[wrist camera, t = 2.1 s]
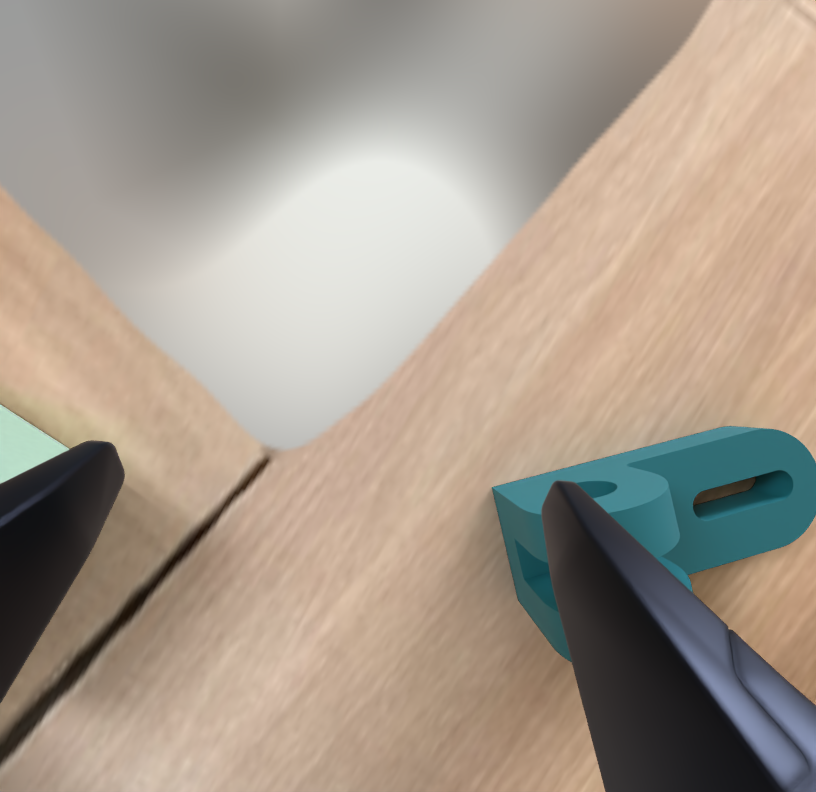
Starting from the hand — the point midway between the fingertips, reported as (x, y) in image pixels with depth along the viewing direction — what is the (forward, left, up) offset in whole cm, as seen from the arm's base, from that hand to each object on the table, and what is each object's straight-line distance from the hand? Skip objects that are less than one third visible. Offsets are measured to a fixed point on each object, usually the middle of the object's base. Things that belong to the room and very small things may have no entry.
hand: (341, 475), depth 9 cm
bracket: (-3, -18, -15) cm, 23 cm away
